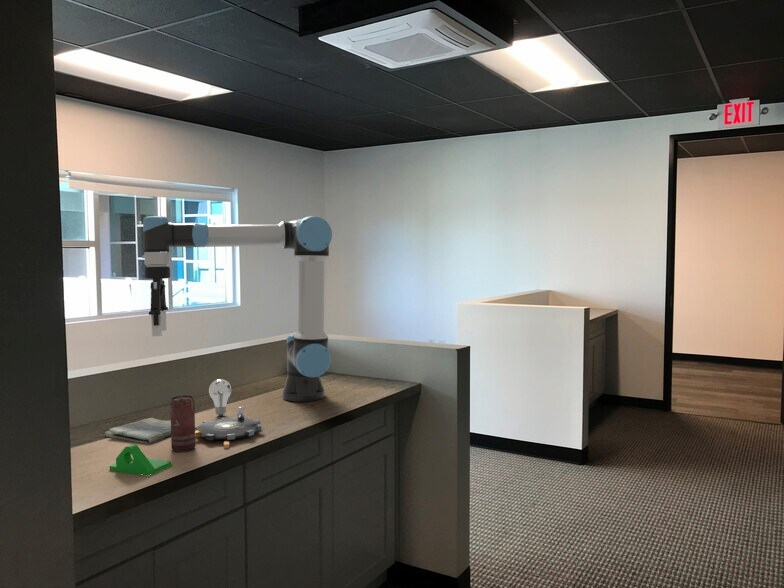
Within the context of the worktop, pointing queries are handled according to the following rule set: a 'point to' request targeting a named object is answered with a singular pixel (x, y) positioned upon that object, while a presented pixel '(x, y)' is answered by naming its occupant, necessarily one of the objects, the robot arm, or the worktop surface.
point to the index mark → (226, 444)
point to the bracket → (137, 462)
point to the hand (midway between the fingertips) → (159, 333)
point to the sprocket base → (230, 439)
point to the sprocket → (228, 427)
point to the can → (182, 423)
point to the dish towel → (142, 431)
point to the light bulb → (220, 395)
